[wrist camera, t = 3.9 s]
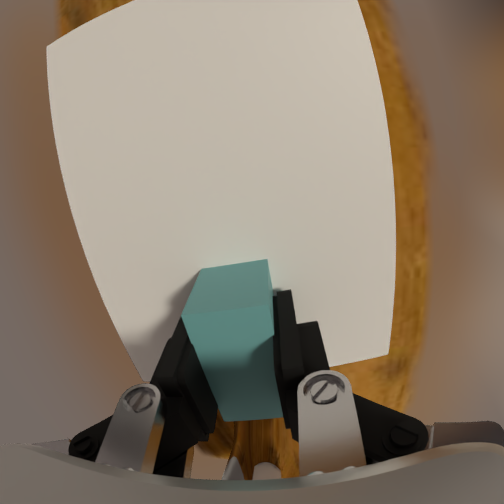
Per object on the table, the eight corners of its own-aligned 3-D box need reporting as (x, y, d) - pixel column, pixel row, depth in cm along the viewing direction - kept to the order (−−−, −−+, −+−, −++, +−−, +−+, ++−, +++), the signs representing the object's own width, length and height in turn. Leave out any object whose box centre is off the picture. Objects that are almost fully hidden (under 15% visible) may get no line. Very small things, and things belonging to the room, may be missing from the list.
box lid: (53, 48, 8) (-1, 35, 4) (341, -28, 6) (366, -75, 3) (146, 374, 13) (124, 425, 10) (384, 347, 12) (409, 401, 9)
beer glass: (239, 431, 23) (227, 577, 9) (214, 385, 21) (183, 571, 7) (315, 421, 22) (331, 573, 8) (305, 372, 20) (326, 573, 6)
